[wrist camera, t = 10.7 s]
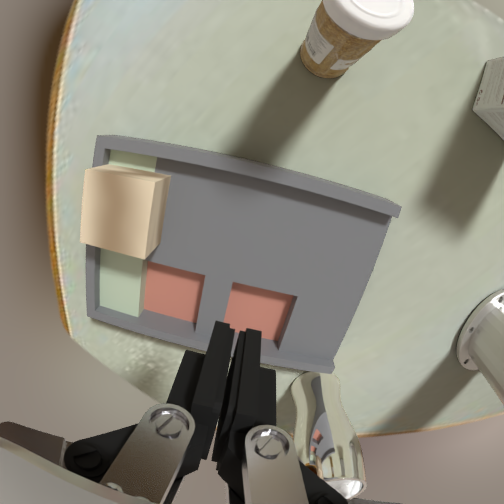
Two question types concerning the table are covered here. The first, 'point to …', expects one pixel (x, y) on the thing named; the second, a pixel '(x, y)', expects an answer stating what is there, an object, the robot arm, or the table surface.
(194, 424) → the robot arm
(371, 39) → the sprinkles bottle
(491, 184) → the table surface
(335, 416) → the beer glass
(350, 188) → the box
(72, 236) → the table surface
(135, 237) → the maple block
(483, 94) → the supplement box
